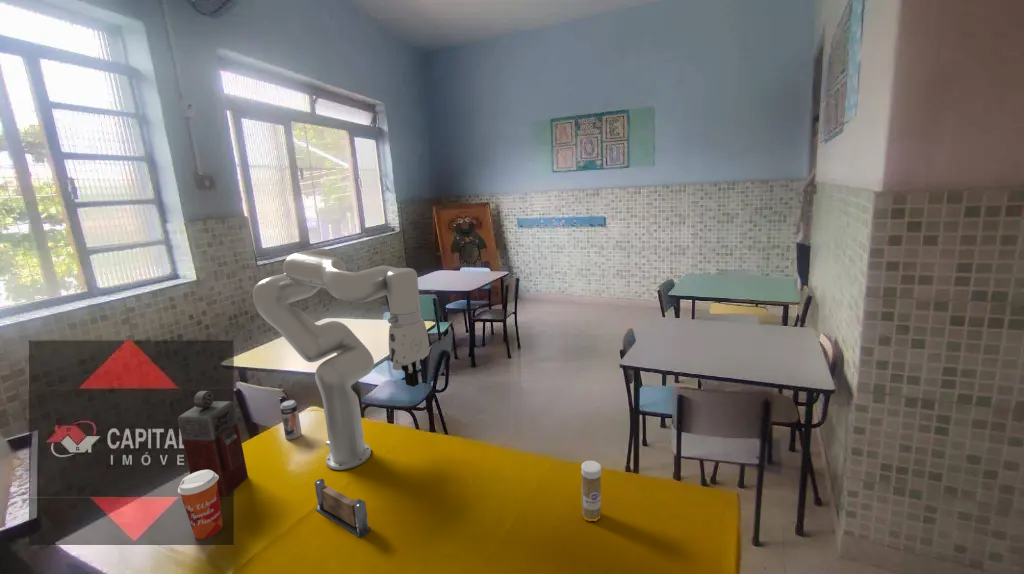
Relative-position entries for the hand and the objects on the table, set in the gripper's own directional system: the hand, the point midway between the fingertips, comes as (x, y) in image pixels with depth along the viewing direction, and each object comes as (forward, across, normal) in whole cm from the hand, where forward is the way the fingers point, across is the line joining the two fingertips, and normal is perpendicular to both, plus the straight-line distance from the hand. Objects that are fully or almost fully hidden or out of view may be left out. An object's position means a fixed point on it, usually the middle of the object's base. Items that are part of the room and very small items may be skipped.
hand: (412, 384), depth 117 cm
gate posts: (+27, -22, +4) cm, 35 cm away
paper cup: (+27, -41, +29) cm, 57 cm away
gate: (+26, -22, +5) cm, 34 cm away
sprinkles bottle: (+27, +10, -46) cm, 54 cm away
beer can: (+27, -7, +51) cm, 58 cm away
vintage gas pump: (+27, -31, +43) cm, 60 cm away
